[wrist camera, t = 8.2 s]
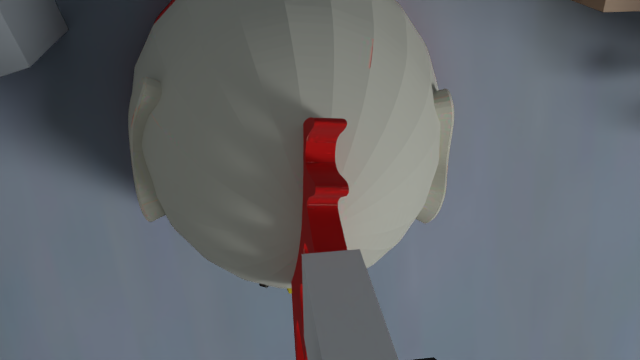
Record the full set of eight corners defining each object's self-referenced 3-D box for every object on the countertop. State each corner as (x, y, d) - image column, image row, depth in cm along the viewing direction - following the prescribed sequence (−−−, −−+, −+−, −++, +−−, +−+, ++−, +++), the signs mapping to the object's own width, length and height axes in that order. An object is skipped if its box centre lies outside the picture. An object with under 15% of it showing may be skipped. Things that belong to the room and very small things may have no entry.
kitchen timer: (141, 224, 32) (78, 481, 18) (127, -61, 25) (18, 12, 12) (402, 226, 34) (517, 456, 20) (446, -37, 28) (648, 47, 14)
